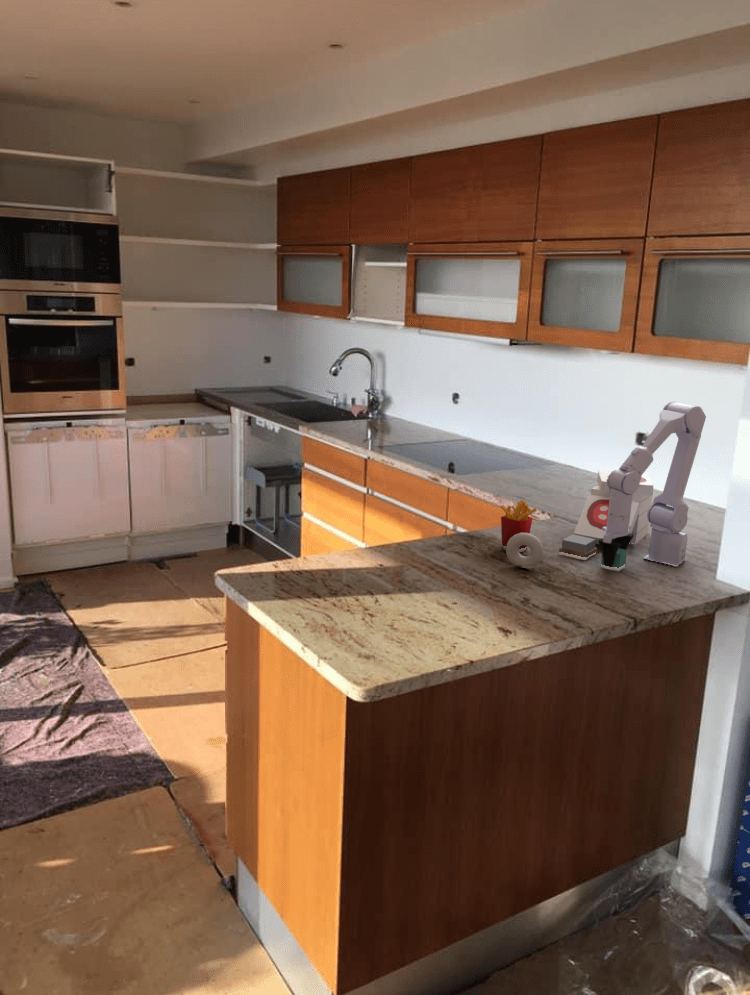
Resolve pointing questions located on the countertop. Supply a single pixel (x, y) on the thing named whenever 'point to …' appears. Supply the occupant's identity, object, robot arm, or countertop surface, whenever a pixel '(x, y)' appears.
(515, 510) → the french fries
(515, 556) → the donut
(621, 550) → the teal cube
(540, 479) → the countertop surface
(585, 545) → the tower top
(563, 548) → the block
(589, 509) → the stacked pizza boxes
